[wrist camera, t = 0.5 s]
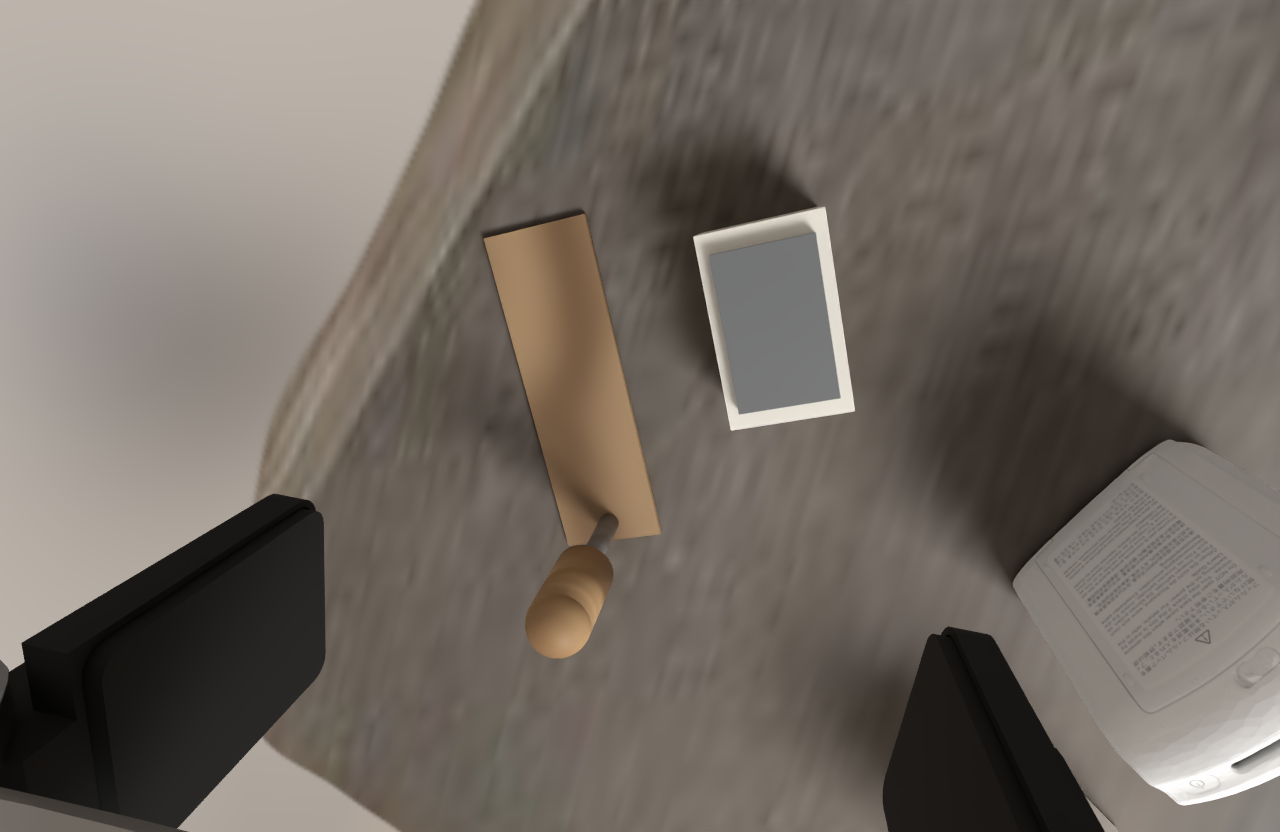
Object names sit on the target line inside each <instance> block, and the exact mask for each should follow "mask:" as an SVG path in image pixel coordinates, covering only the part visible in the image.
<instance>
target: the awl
mask: <svg viewBox="0 0 1280 832" xmlns="http://www.w3.org/2000/svg"><path fill="white" fill-rule="evenodd" d="M618 526H619V521H618V519H617V517H616V516H615V515H613V514H609V513H608V514H604V515H603V516H602V517H601V518H600V520H599V522H598V524H597V526H596V528H595V530H594V531H593V533H592V535H591V537H590V539H589V541H588V543H587V544H586V545H576V546H572V547H570V548H568V549H566V550H565V551H564V552H563V553H562V554H561V555H560V557H559V558H558V560H557V562H556V563H555V565H554V567H553V569H552V570H551V572H550V574H549V575H548V577H547V579H546V580H545V582H544V584H543V585H542V587H541V589H540V590H539V592H538V594H537V595H536V597H535V599H534V601H533V602H532V604H531V606H530V607H529V609H528V612H527V615H526V619H525V630H526V634H527V637H528V640H529V642H530V643H531V645H532V646H533V647H534V649H536V650H537V651H538V652H539V653H541V654H542V655H544V656H547V657H550V658H565V657H568V656H571V655H573V654H575V653H576V652H578V651H579V650H580V649H581V648H582V647H583V646H584V645H585V644H586V642H587V640H588V639H589V636H590V634H591V631H592V629H593V627H594V624H595V622H596V619H597V617H598V615H599V612H600V610H601V607H602V605H603V603H604V600H605V598H606V595H607V593H608V591H609V588H610V586H611V583H612V581H613V568H612V565H611V563H610V561H609V559H608V558H607V557H606V556H605V554H606V552H607V549H608V547H609V545H610V543H611V541H612V539H613V537H614V534H615V532H616V530H617V528H618Z"/></svg>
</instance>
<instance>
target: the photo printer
mask: <svg viewBox="0 0 1280 832" xmlns="http://www.w3.org/2000/svg"><path fill="white" fill-rule="evenodd" d="M1013 587H1014V589H1015V591H1016V593H1017V595H1018V596H1019V598H1020V600H1021V601H1022V603H1023V605H1024V606H1025V608H1026V609H1027V611H1028V613H1029V614H1030V616H1031V617H1032V619H1033V621H1034V622H1035V624H1036V626H1037V627H1038V629H1039V630H1040V632H1041V634H1042V636H1043V637H1044V639H1045V640H1046V642H1047V644H1048V645H1049V647H1050V649H1051V650H1052V652H1053V653H1054V655H1055V657H1056V658H1057V660H1058V662H1059V663H1060V665H1061V667H1062V668H1063V670H1064V672H1065V673H1066V675H1067V677H1068V678H1069V680H1070V682H1071V683H1072V685H1073V687H1074V688H1075V690H1076V691H1077V693H1078V695H1079V696H1080V698H1081V700H1082V701H1083V703H1084V705H1085V706H1086V708H1087V710H1088V711H1089V713H1090V714H1091V716H1092V718H1093V719H1094V721H1095V723H1096V724H1097V726H1098V728H1099V729H1100V730H1101V732H1102V733H1103V734H1104V736H1105V737H1106V738H1107V740H1108V742H1109V743H1110V745H1111V746H1112V747H1113V749H1114V750H1115V751H1116V752H1117V753H1118V754H1119V755H1120V756H1121V757H1122V758H1123V759H1124V760H1125V761H1126V762H1127V763H1128V764H1129V765H1130V766H1131V767H1132V768H1133V769H1134V770H1135V771H1136V772H1137V773H1138V774H1139V775H1140V776H1141V777H1142V778H1143V779H1144V780H1145V781H1146V782H1147V783H1148V784H1150V785H1151V786H1153V787H1156V788H1158V789H1160V790H1162V791H1163V792H1165V793H1167V794H1168V795H1169V796H1170V797H1171V798H1172V799H1173V800H1174V801H1176V802H1177V803H1178V804H1181V805H1190V804H1195V803H1201V802H1206V801H1211V800H1215V799H1219V798H1222V797H1226V796H1229V795H1233V794H1236V793H1238V792H1241V791H1244V790H1246V789H1249V788H1252V787H1254V786H1257V785H1259V784H1262V783H1264V782H1266V781H1268V780H1270V779H1273V778H1275V777H1277V776H1279V775H1280V491H1278V490H1276V489H1274V488H1273V487H1271V486H1269V485H1268V484H1266V483H1264V482H1263V481H1261V480H1259V479H1258V478H1256V477H1254V476H1252V475H1251V474H1249V473H1247V472H1246V471H1244V470H1242V469H1240V468H1239V467H1237V466H1235V465H1234V464H1232V463H1230V462H1229V461H1227V460H1225V459H1223V458H1222V457H1220V456H1218V455H1216V454H1215V453H1213V452H1211V451H1210V450H1208V449H1206V448H1204V447H1202V446H1199V445H1196V444H1193V443H1187V442H1175V441H1173V440H1166V441H1164V442H1162V443H1160V444H1158V445H1157V446H1155V447H1154V448H1153V449H1151V450H1150V451H1148V452H1147V453H1145V454H1144V455H1143V456H1141V457H1140V458H1139V459H1138V460H1136V461H1135V462H1134V463H1133V464H1132V465H1131V466H1129V467H1128V468H1127V469H1126V470H1125V471H1124V472H1123V473H1122V474H1121V475H1120V476H1118V477H1117V478H1116V479H1115V480H1114V481H1113V482H1112V483H1111V484H1109V485H1108V486H1107V487H1106V488H1105V489H1104V490H1103V491H1102V492H1101V493H1100V494H1098V495H1097V496H1096V497H1095V498H1094V499H1093V500H1092V501H1091V502H1090V503H1089V504H1088V505H1086V506H1085V507H1084V508H1083V509H1082V510H1081V511H1080V512H1079V513H1078V514H1077V515H1076V516H1075V517H1074V518H1073V519H1071V520H1070V521H1069V522H1068V523H1067V524H1066V525H1065V526H1064V527H1063V528H1062V529H1061V530H1060V531H1059V532H1058V533H1057V534H1055V535H1054V536H1053V537H1052V538H1051V539H1050V540H1049V541H1048V542H1047V543H1046V544H1045V545H1044V546H1043V547H1042V548H1041V549H1040V550H1039V551H1038V552H1037V553H1036V554H1035V555H1034V556H1033V557H1032V558H1031V559H1030V560H1029V561H1028V562H1027V563H1026V564H1025V566H1024V567H1023V568H1022V569H1021V570H1020V572H1019V573H1018V574H1017V576H1016V577H1015V579H1014V581H1013Z"/></svg>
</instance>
